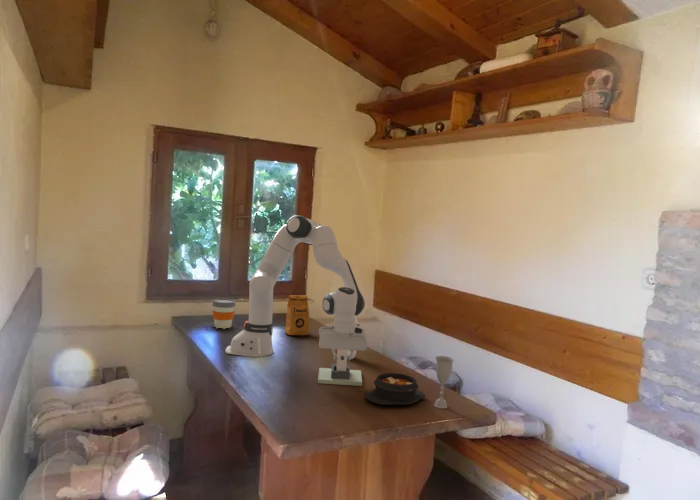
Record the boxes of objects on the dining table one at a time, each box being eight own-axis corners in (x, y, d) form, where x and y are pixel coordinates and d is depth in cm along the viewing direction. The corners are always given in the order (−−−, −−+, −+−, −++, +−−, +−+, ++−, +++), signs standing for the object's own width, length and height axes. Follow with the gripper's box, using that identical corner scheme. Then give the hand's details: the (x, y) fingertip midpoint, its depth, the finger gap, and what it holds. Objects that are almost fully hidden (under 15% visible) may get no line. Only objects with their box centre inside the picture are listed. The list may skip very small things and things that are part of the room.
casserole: (384, 414, 191) (386, 391, 190) (353, 397, 206) (355, 375, 205) (435, 403, 206) (437, 381, 205) (403, 388, 221) (405, 368, 220)
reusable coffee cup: (209, 324, 307) (210, 298, 306) (231, 324, 312) (232, 298, 311) (213, 330, 295) (215, 302, 294) (236, 329, 301) (238, 302, 300)
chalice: (429, 401, 207) (433, 355, 205) (447, 402, 207) (451, 356, 206) (434, 409, 199) (438, 361, 198) (452, 409, 200) (456, 362, 199)
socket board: (317, 383, 219) (318, 372, 219) (319, 371, 235) (319, 361, 235) (362, 385, 220) (362, 375, 219) (360, 373, 236) (361, 363, 235)
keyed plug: (336, 372, 221) (337, 351, 220) (336, 366, 230) (337, 345, 229) (346, 373, 221) (347, 351, 220) (345, 366, 230) (347, 346, 229)
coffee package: (309, 336, 296) (312, 296, 294) (287, 336, 292) (289, 296, 290) (305, 332, 305) (308, 293, 304) (284, 332, 301) (286, 293, 300)
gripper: (318, 327, 221) (316, 360, 223) (368, 330, 222) (366, 363, 223) (319, 323, 228) (317, 356, 229) (367, 326, 228) (365, 358, 229)
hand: (341, 359), depth 226 cm, fingers closed on keyed plug, 4 cm apart
